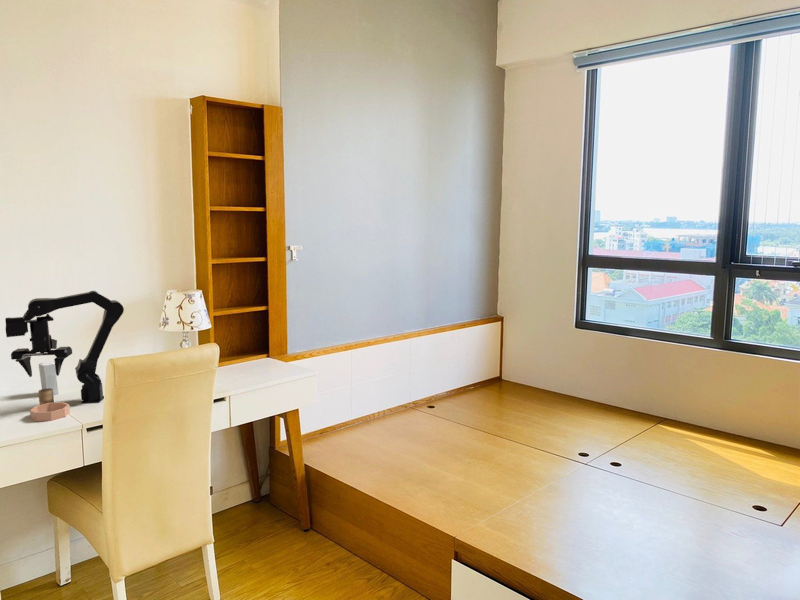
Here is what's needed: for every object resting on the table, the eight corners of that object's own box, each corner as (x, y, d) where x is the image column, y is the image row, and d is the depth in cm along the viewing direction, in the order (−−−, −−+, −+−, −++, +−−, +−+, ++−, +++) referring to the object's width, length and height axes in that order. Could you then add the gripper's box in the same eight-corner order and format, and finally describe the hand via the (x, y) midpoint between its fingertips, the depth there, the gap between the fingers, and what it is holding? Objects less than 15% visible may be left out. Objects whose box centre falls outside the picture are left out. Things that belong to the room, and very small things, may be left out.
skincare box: (59, 393, 246) (56, 363, 244) (46, 396, 243) (43, 366, 241) (53, 390, 250) (50, 361, 249) (41, 393, 247) (38, 363, 245)
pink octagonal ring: (73, 409, 227) (72, 401, 226) (61, 420, 216) (60, 411, 216) (40, 411, 225) (39, 403, 225) (26, 421, 214) (25, 413, 214)
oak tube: (56, 405, 232) (54, 387, 231) (51, 409, 228) (49, 391, 227) (43, 405, 232) (41, 388, 231) (37, 409, 227) (36, 391, 226)
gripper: (75, 328, 235) (79, 369, 237) (22, 330, 232) (26, 371, 235) (64, 334, 224) (68, 377, 226) (8, 336, 222) (12, 379, 224)
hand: (44, 376), depth 228 cm, fingers open, 9 cm apart
